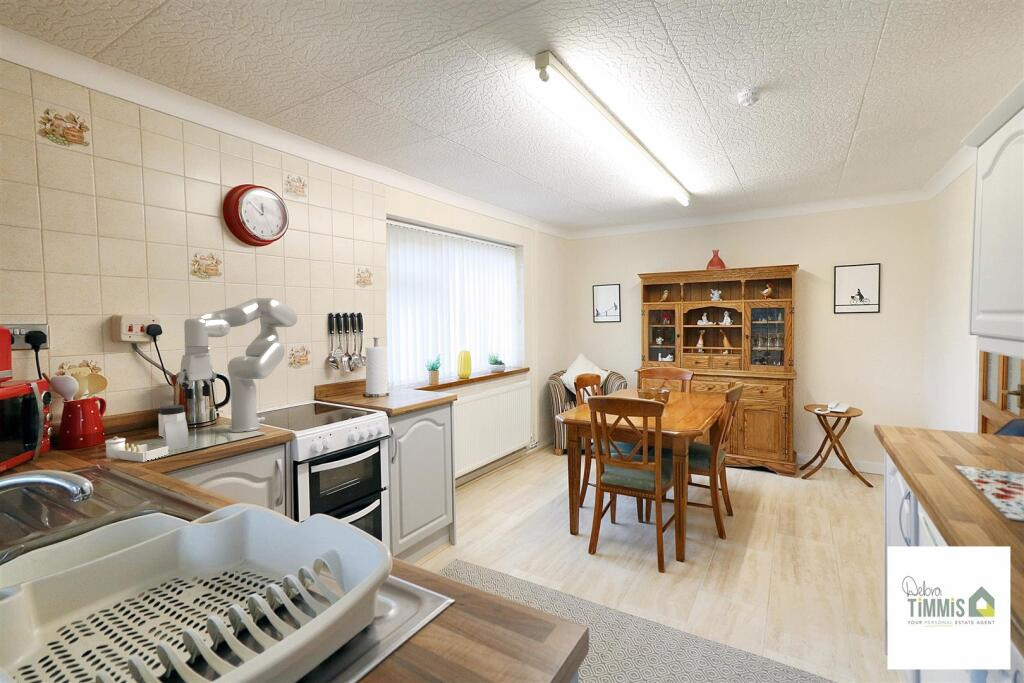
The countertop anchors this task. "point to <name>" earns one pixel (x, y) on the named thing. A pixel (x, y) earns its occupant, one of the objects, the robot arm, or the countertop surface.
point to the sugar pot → (114, 446)
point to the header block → (141, 453)
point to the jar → (170, 415)
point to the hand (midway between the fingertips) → (197, 397)
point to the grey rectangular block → (175, 435)
